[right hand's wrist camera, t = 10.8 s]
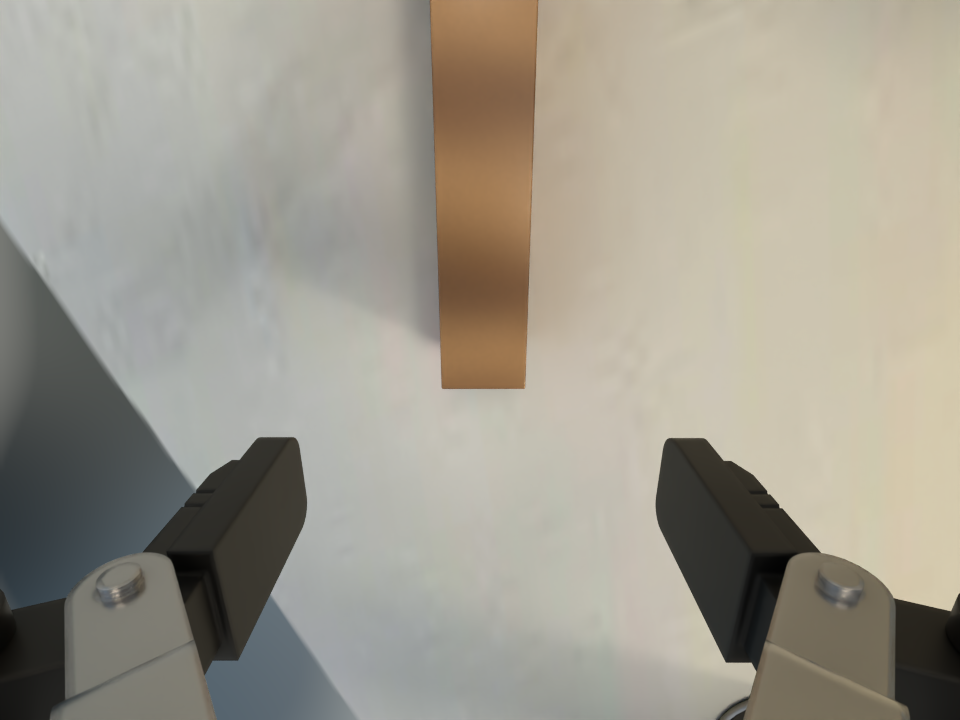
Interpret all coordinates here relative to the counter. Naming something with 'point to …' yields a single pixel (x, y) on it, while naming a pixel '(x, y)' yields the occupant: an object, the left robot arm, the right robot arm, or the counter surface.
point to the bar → (483, 186)
